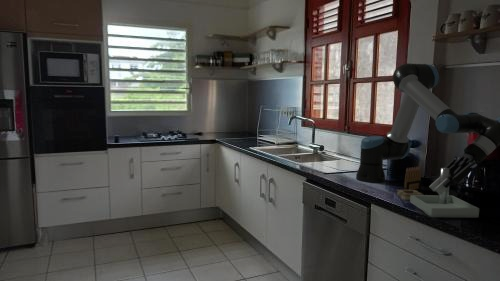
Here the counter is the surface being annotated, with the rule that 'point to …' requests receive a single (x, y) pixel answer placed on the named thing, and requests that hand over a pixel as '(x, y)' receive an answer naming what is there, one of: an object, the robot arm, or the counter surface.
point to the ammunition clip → (413, 179)
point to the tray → (444, 206)
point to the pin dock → (407, 193)
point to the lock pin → (445, 194)
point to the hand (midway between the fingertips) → (434, 190)
